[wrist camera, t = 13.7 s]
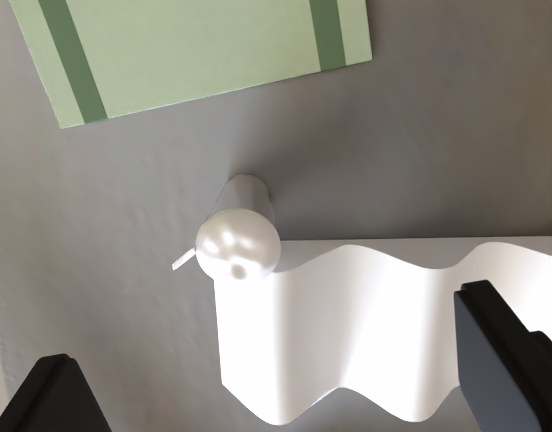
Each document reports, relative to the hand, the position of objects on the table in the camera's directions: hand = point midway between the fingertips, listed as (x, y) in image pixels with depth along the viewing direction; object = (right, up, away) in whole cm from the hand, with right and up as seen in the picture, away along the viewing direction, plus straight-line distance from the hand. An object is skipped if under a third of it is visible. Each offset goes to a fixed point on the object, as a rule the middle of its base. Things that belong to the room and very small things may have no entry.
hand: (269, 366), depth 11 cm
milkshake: (-2, +5, +21) cm, 22 cm away
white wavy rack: (+13, -4, +25) cm, 28 cm away
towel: (-5, +17, +16) cm, 23 cm away
